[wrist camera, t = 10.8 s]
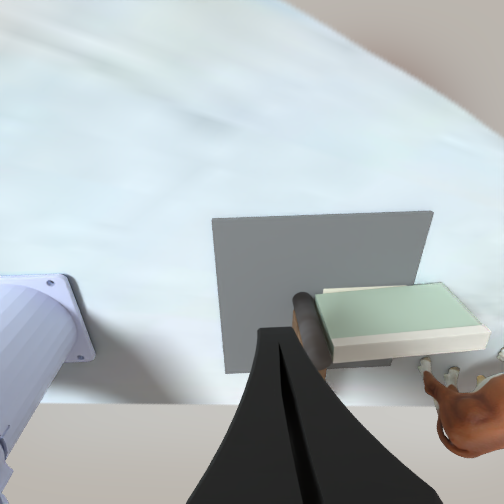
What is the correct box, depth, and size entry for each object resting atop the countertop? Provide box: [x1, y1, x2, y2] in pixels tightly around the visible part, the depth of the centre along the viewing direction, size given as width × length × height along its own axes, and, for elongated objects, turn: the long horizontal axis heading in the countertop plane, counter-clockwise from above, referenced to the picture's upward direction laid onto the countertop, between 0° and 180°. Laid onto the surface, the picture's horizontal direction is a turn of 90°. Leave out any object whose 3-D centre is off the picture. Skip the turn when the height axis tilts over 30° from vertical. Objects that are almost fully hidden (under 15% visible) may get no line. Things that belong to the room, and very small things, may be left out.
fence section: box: [292, 292, 332, 380], centre depth 22 cm, size 1×9×6 cm, turn 1°
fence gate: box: [315, 283, 491, 363], centre depth 21 cm, size 9×1×5 cm, turn 95°
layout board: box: [212, 211, 434, 374], centre depth 23 cm, size 14×14×1 cm
